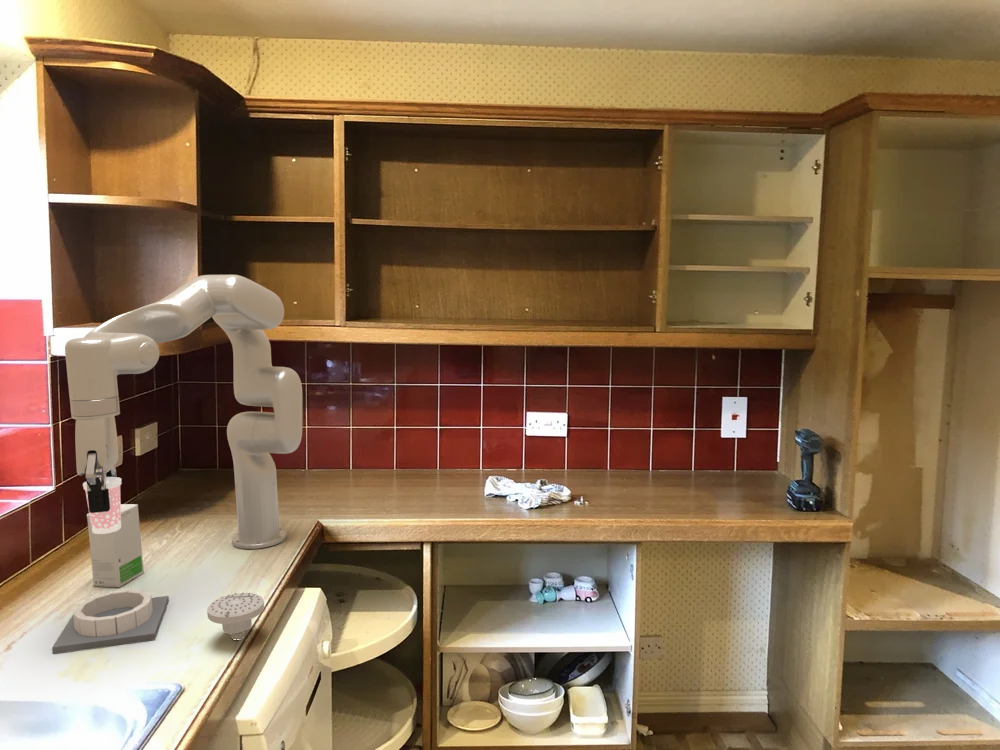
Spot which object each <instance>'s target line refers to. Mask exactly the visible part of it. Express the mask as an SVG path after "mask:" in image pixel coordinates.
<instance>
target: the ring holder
mask: <svg viewBox="0 0 1000 750" xmlns="http://www.w3.org/2000/svg"><path fill="white" fill-rule="evenodd" d="M169 597H170V596H169V595H163V596H156V597H152V595H151V594H150V593H149V592H147V591H146V590H139V589H132V588H131V589H121V590H114V591H108V592H105V593H102V594H98V595H95V596H92V597H90V598H88V599H86V600H85V601H83V602H80V603H79V604H78V605H77V606H76V608H75V609H74V611H72V616H71V617H70V618H69V620H68V622H67V624H66V625H65V626H64V628H63V630H62V631H61V633H60V634H59V636H58V638H57V639H56V640H55V642H54V644H53V645H52V647H51V651H52V655H55V654H56V655H57V654H62V653H71V652H78V651H85V650H92V649H98V648H99V649H101V648H106V647H114V646H119V645H126V644H127V645H129V644H136V643H142V642H149V641H155V640H156V638H157V635H158V633H159V630H160V628H161V625H162V621H163V618H164V617H163V616H165V613H166V612H167V608H168V606H167V605H169V603H168V602H170V598H169Z"/></svg>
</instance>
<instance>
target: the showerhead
mask: <svg viewBox="0 0 1000 750" xmlns="http://www.w3.org/2000/svg"><path fill="white" fill-rule="evenodd" d="M264 609H265V599H264V598H263V597H262V596H261V595H259V594H257V593H253V592H252V593H251V592H239V593H238V592H237V593H235V592H234V593H233V594H227V595H225V596H221V597H220V598H218V599H215V600H214V601H212V602H211V603H210V604H209V605H208V606H207V609H206V611H207V612H206V614H207V619H208V620H210V622H212V623H215V624H219V625H220V624H221V625H222V631H223V632H224V633H226V634H230V636H231V638H232V639H236V640H237V639H242V638H243V637H244V638H245V631H248V629H250V628H251V627H252V619H254V618H256V617H258V616H259V615H261V614H262V613H263V611H264ZM244 638H243V639H244ZM232 639H231V640H232ZM243 639H242V640H243Z"/></svg>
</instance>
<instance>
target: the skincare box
mask: <svg viewBox="0 0 1000 750" xmlns="http://www.w3.org/2000/svg"><path fill="white" fill-rule="evenodd" d="M86 519H87V528H88V540H89V549H90V559H91V560H90V561H91V572H92V573H91V574H92V582H93V583H92V584H93V587H100V588H101V587H103V588H120V587H122V586H124V585H125V584H127V583H129V582H131V581H133V580H134V579H136V578H138V577H140V576H141V574H142V575H143V574H144V573H145V572H144V562H143V561H144V560H143V549H142V548H143V547H142V540H141V539H142V538H141V537H142V536H141V527H140V526H141V525H140V514H139V504H137V503H136V504H134V503H133V504H132V503H131V504H130V503H129V504H128V503H126V504H125V503H123V504H122V503H121V529H119V530H117V531H115V532H111V533H106V534H94V533H93V532H92V526H91V521H90V515H89V513H87V514H86ZM139 575H140V576H139ZM132 579H133V580H132Z"/></svg>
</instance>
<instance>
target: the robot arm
mask: <svg viewBox="0 0 1000 750" xmlns="http://www.w3.org/2000/svg"><path fill="white" fill-rule="evenodd" d="M211 318H212V319H213V321H214V322H215V324H216V325H218V326H219V327H220V328H221V329H222V330H223V332H224V333H225V334H226V336H227V338H228V339H229V341H230V343H231V346H232V352H233V394H234V398H235V400H236V401H237V402H238V403H239V404H240V405H244V406H248V407H249V406H251V407H267V408H273V412H269V411H243V412H239V413H237V414H235V415H234V416H232V417H231V418H230V420H229V422H228V423H227V426H226V427H227V428H226V436H227V441H228V446H229V448H230V449H229V450H230V451H231V456H232V461H233V462H232V463H233V472H234V489H235V490H234V491H235V503H236V519H237V533H236V534H234V535H233V536H232V537H231V543H232V546H234V547H236V548H238V549H244V550H253V549H254V550H255V549H264V548H269V547H272V546H275V545H278V544H280V543H282V542H284V541H285V540H286V539H287V530H285V529H284V528H281V527H280V515H279V498H278V481H277V468H276V463H275V461H274V460H273V457H272V455H271V454H281V455H282V454H283V455H286V454H291V453H293V452H295V451H297V449H298V448H299V447H300V444H301V442H302V437H303V386H302V385H303V384H302V381H301V378H300V376H299V374H298V373H297V372H296V371H295V370H294V369H292V368H290V367H285V366H273V364H272V347H271V343H270V340H269V337H268V336H267V334H266V333H265V330H273V329H276V328H277V327H279V326H280V325H281V323H282V322H283V320H284V318H285V307H284V304H283V301H282V299H281V298H280V297H279V296H278V294H276V293H275V292H274V291H273V290H270V289H268V288H267V287H265V286H263V285H261V284H260V283H257V282H255V281H253V280H252V279H249V278H247V277H245V276H242V275H239V274H203V275H202V274H201V275H199V276H196V277H193V278H191V279H190V280H188V281H187V282H186V283H184V284H183V285H181V286H180V287H178V288H177V289H175V290H174V291H173V292H171V293H170V294H169V293H168V294H167V295H166V296H165V297H163V298H162V299H160V300H158V301H155V302H152V303H150V304H146V305H144V306H142V307H141V306H140V307H138V308H136V309H133V310H131V311H127V312H125V313H122V314H119V315H117V316H114V317H112V318H110V319H108V320H107V321H104V322H102V324H99V325H98V326H96V327H95V328H93V329H91V330H90V331H89V332H88V333H86V335H85V336H84V337H77V338H72V339H69V340H68V341H66V343H65V347H64V353H65V363H66V364H65V365H66V373H67V374H66V375H67V384H68V395H69V403H70V404H69V405H70V413H71V419H73V420H75V431H74V432H75V433H74V435H75V436H74V437H75V438H74V440H75V463H76V473H77V475H78V476H83V475H85V479H86V481H87V494H88V503H87V505H88V504H89V509H88V513H89V512H90V513H97V512H107V511H109V510H110V501H109V491H108V489H106V477H117V476H118V475H117V469H116V464H117V463H118V461H119V442H118V431H117V424H116V418H115V416H119V415H120V414H121V411H120V410H121V409H120V397H119V387H118V376H119V375H128V374H129V375H131V374H133V375H138V374H140V375H141V374H144V373H146V372H148V371H150V370H152V369H153V368H154V367H155V366H156V365H157V363H158V361H159V358H160V349H159V345H158V344H160V343H168V342H170V341H171V342H172V341H175V340H178V339H181V338H182V339H183V338H184V337H187V336H188V335H190V334H191V333H192V332H194V331H195V330H196V329H197V328H199V327H200V326H201V325H202V324H204V323H205V322H207V321H208V320H209V319H211ZM100 469H102V472H100ZM100 476H101V481H100V479H99V478H100Z"/></svg>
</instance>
